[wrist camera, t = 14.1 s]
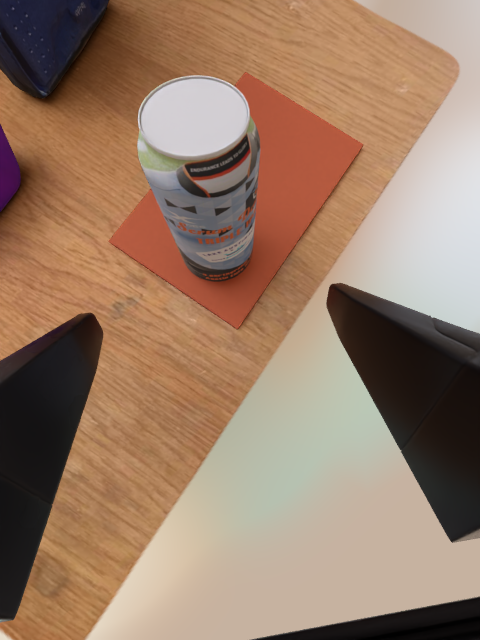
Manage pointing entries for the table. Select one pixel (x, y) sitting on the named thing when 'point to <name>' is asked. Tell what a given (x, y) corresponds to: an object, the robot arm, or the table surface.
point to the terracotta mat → (271, 207)
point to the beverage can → (203, 171)
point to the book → (44, 39)
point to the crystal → (7, 171)
